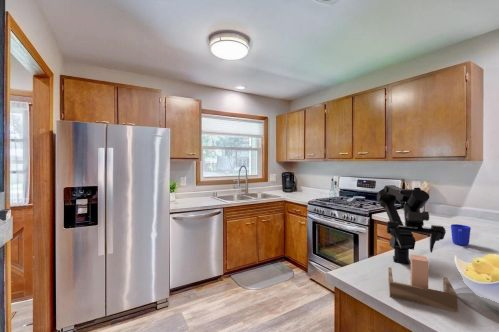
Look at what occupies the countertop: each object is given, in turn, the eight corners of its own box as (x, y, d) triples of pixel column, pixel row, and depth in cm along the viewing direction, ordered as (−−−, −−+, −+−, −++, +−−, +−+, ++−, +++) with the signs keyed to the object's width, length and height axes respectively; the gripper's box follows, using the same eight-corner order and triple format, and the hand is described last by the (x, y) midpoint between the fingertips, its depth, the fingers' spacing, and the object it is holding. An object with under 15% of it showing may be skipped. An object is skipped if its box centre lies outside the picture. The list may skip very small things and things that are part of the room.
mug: (449, 246, 128) (450, 227, 127) (451, 240, 137) (451, 223, 136) (470, 250, 122) (470, 230, 122) (470, 243, 131) (470, 225, 131)
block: (410, 289, 86) (410, 254, 85) (425, 293, 83) (425, 256, 83) (412, 296, 82) (412, 259, 81) (428, 299, 80) (428, 261, 79)
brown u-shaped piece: (388, 279, 93) (388, 267, 93) (446, 291, 84) (446, 277, 84) (389, 296, 82) (389, 282, 82) (457, 311, 73) (457, 295, 73)
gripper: (386, 201, 97) (387, 235, 88) (444, 205, 88) (452, 243, 79) (386, 216, 105) (387, 249, 95) (439, 221, 96) (446, 258, 86)
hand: (416, 250), depth 89 cm, fingers open, 9 cm apart
